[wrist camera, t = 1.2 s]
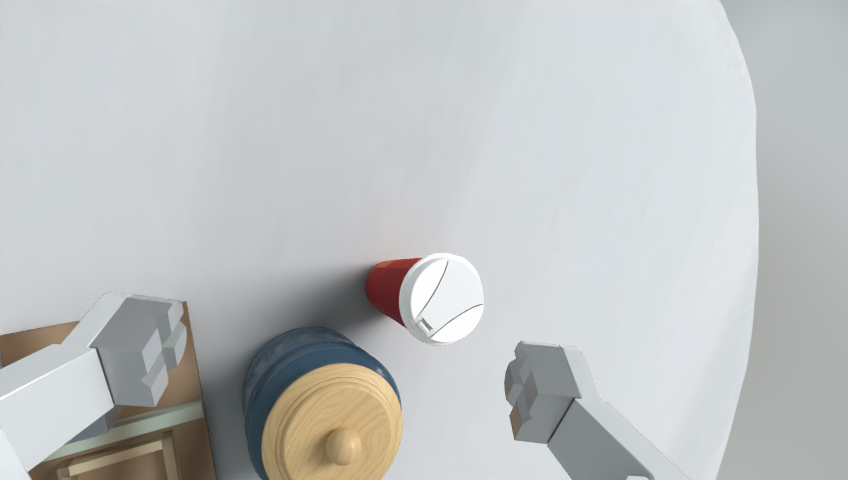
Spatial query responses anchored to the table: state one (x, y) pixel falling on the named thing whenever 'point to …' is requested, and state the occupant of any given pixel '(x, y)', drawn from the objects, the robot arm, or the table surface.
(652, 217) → the table surface
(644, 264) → the table surface
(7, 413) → the robot arm
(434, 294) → the coffee cup
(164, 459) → the door board
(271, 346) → the canister
